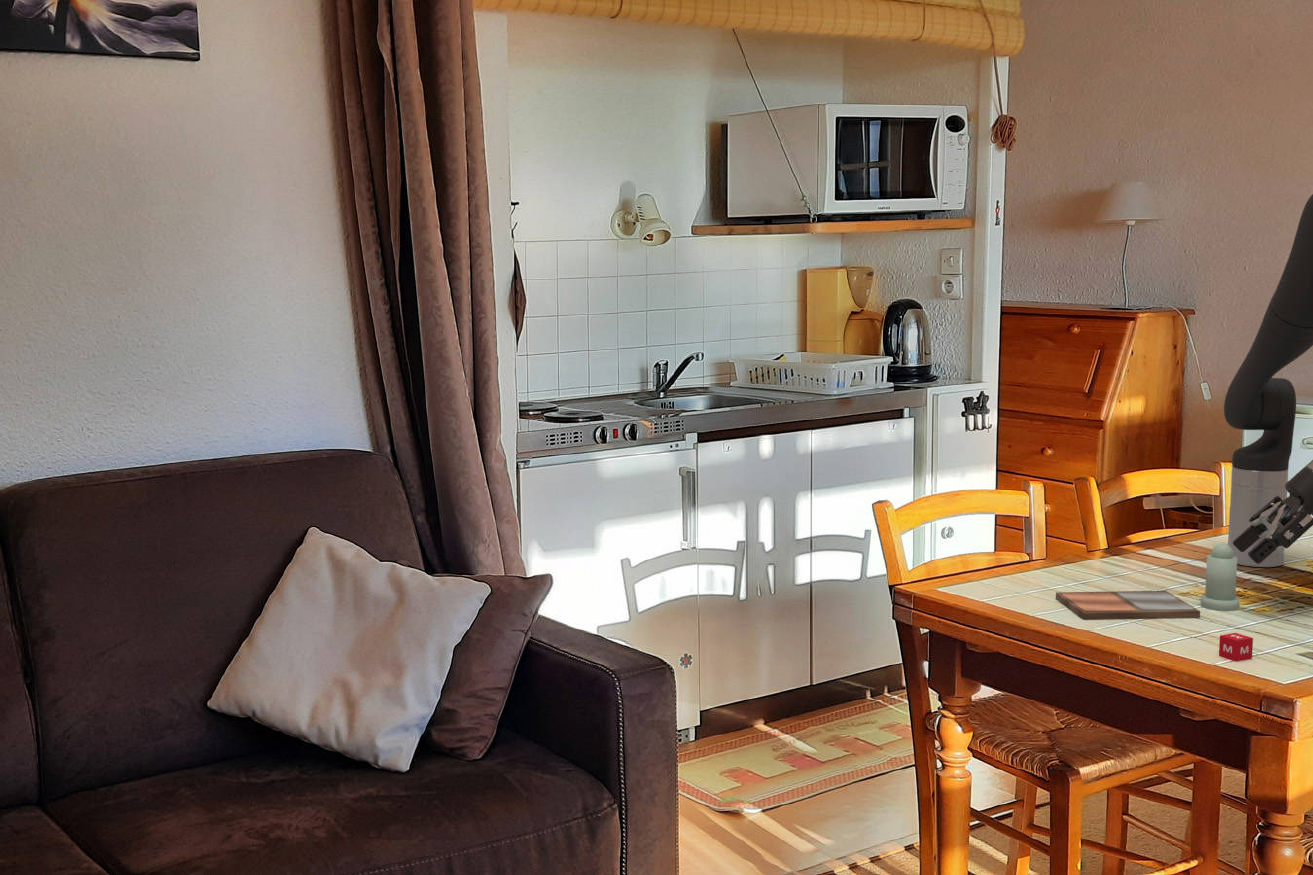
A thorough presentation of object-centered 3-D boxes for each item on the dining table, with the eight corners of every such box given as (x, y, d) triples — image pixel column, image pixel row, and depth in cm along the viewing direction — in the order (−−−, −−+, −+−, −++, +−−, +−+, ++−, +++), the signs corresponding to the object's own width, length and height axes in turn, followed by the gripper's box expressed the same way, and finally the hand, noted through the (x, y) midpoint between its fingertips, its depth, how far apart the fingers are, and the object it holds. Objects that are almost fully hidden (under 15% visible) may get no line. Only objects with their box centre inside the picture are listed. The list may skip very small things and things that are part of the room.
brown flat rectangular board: (1055, 598, 220) (1056, 591, 219) (1165, 596, 220) (1165, 590, 220) (1083, 619, 207) (1083, 612, 207) (1200, 617, 207) (1200, 610, 207)
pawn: (1194, 602, 217) (1197, 540, 215) (1229, 601, 217) (1232, 539, 215) (1210, 611, 211) (1212, 547, 210) (1245, 610, 211) (1248, 547, 210)
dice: (1218, 656, 188) (1219, 635, 187) (1234, 653, 189) (1235, 632, 188) (1236, 662, 185) (1237, 640, 184) (1252, 659, 186) (1253, 637, 186)
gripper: (1293, 458, 216) (1215, 528, 219) (1324, 472, 202) (1240, 545, 205) (1327, 492, 216) (1248, 560, 219) (1360, 507, 202) (1275, 581, 205)
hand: (1244, 553), depth 212 cm, fingers open, 8 cm apart
